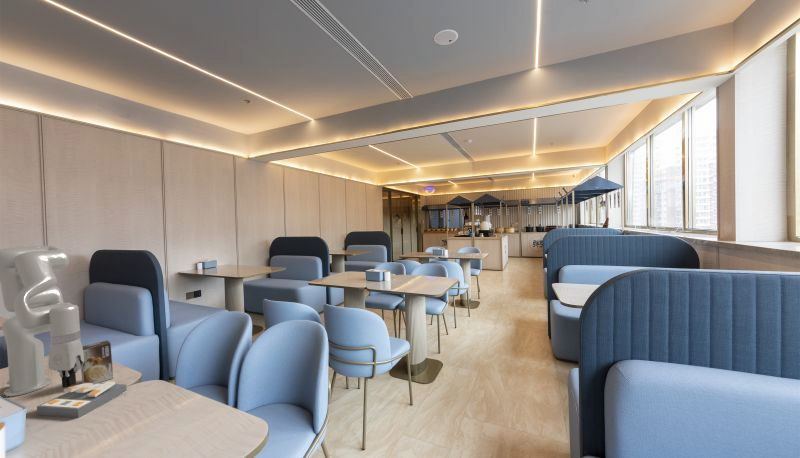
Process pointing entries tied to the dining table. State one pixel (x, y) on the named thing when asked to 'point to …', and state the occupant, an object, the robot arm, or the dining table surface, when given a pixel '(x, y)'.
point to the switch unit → (78, 402)
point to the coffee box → (97, 363)
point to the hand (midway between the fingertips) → (69, 385)
